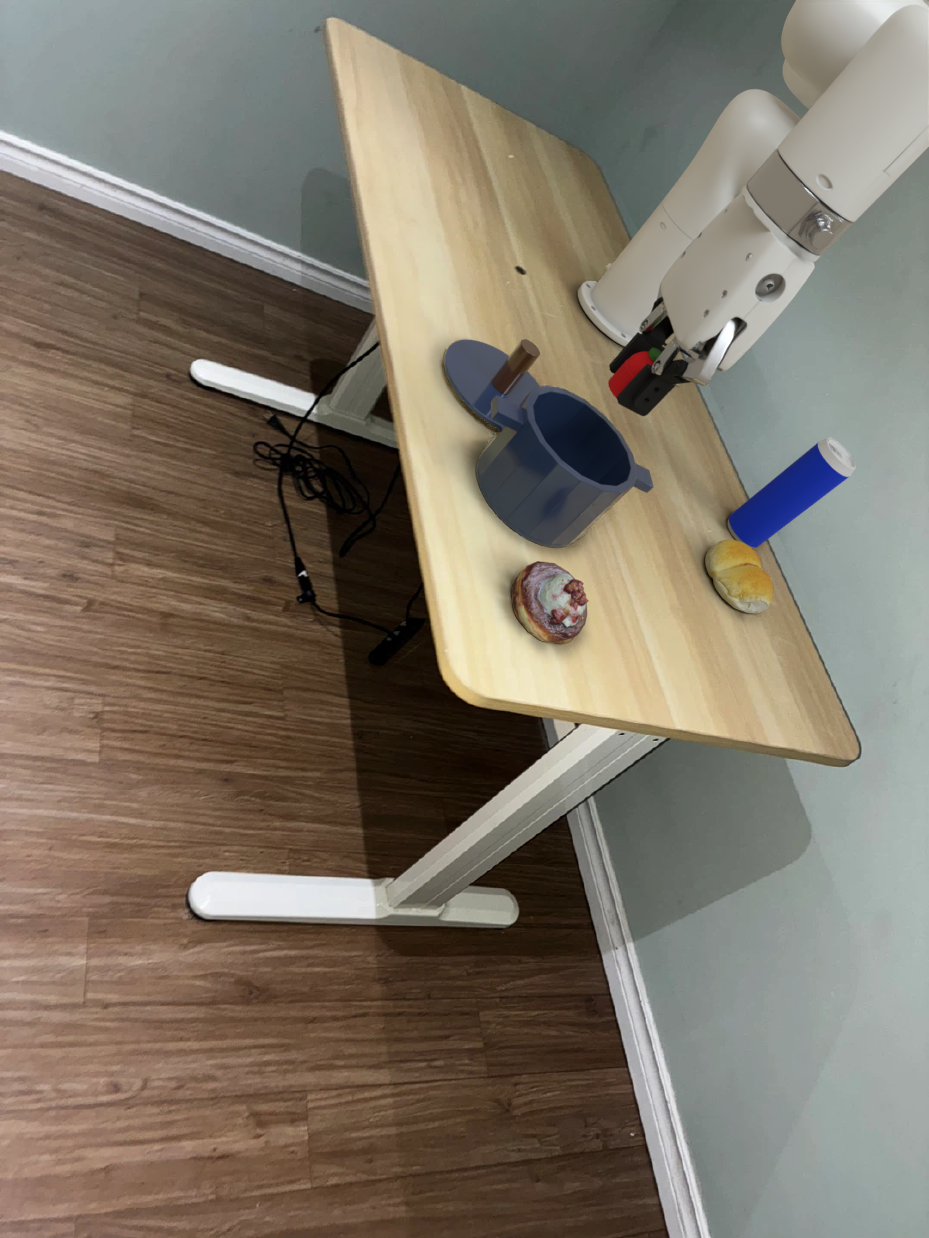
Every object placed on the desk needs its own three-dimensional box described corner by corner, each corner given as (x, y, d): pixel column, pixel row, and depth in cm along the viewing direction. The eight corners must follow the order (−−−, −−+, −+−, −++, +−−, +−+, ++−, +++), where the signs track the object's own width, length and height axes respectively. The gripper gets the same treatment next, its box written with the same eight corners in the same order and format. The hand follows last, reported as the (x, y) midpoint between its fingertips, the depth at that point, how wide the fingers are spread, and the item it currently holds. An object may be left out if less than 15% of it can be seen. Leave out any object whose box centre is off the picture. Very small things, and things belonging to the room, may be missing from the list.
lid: (439, 328, 88) (471, 279, 84) (540, 380, 94) (575, 337, 90) (441, 409, 80) (477, 359, 76) (552, 460, 86) (591, 417, 82)
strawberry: (605, 372, 71) (639, 333, 68) (636, 389, 72) (671, 352, 69) (611, 398, 69) (647, 359, 66) (643, 416, 70) (679, 378, 67)
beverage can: (755, 532, 103) (855, 453, 93) (756, 557, 99) (860, 479, 89) (724, 510, 102) (823, 428, 92) (724, 534, 98) (827, 452, 88)
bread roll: (737, 556, 97) (763, 536, 94) (766, 619, 92) (794, 600, 90) (690, 543, 92) (716, 522, 90) (718, 609, 88) (747, 588, 85)
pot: (449, 418, 80) (497, 353, 74) (592, 484, 88) (645, 430, 82) (453, 510, 72) (506, 446, 67) (609, 573, 80) (669, 521, 75)
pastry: (540, 656, 68) (577, 624, 65) (491, 583, 70) (524, 549, 66) (592, 631, 74) (629, 601, 70) (546, 565, 75) (579, 533, 72)
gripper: (867, 297, 55) (676, 474, 67) (796, 181, 65) (641, 353, 77) (792, 242, 52) (606, 438, 64) (729, 129, 62) (579, 317, 74)
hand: (627, 390), depth 70 cm, fingers closed on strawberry, 3 cm apart
